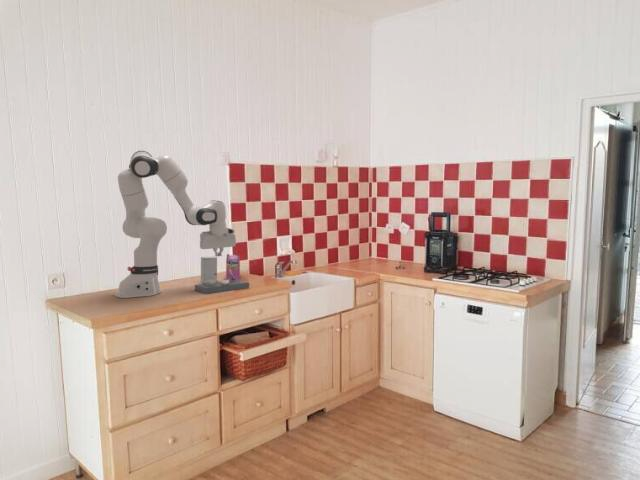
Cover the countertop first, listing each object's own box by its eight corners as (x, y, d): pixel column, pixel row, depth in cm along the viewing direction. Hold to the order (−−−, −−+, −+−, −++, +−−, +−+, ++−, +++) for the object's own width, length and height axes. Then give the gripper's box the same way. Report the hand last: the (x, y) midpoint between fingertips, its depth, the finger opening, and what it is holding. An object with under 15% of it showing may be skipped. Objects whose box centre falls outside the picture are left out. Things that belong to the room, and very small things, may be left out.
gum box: (227, 275, 311) (226, 253, 309) (239, 275, 312) (239, 253, 311) (226, 281, 287) (225, 258, 286) (239, 281, 288) (239, 258, 287)
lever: (232, 281, 271) (227, 265, 269) (230, 280, 273) (225, 265, 270) (236, 279, 273) (230, 263, 270) (234, 278, 275) (228, 263, 272)
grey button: (209, 284, 253) (209, 281, 253) (205, 283, 257) (205, 280, 257) (217, 283, 256) (217, 280, 256) (213, 282, 260) (213, 279, 259)
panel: (205, 294, 251) (205, 288, 251) (194, 290, 260) (194, 284, 260) (248, 287, 268) (248, 282, 268) (237, 284, 277) (237, 279, 277)
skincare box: (203, 283, 281) (203, 257, 280) (200, 281, 286) (200, 256, 285) (217, 282, 285) (217, 256, 284) (214, 280, 290) (214, 255, 289)
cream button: (223, 284, 259) (223, 281, 259) (219, 283, 262) (219, 280, 262) (230, 284, 262) (230, 280, 261) (226, 282, 265) (226, 279, 265)
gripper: (202, 232, 255) (203, 258, 257) (237, 229, 269) (237, 255, 270) (197, 231, 260) (198, 257, 262) (231, 229, 273) (231, 254, 275)
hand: (218, 256), depth 266 cm, fingers closed
